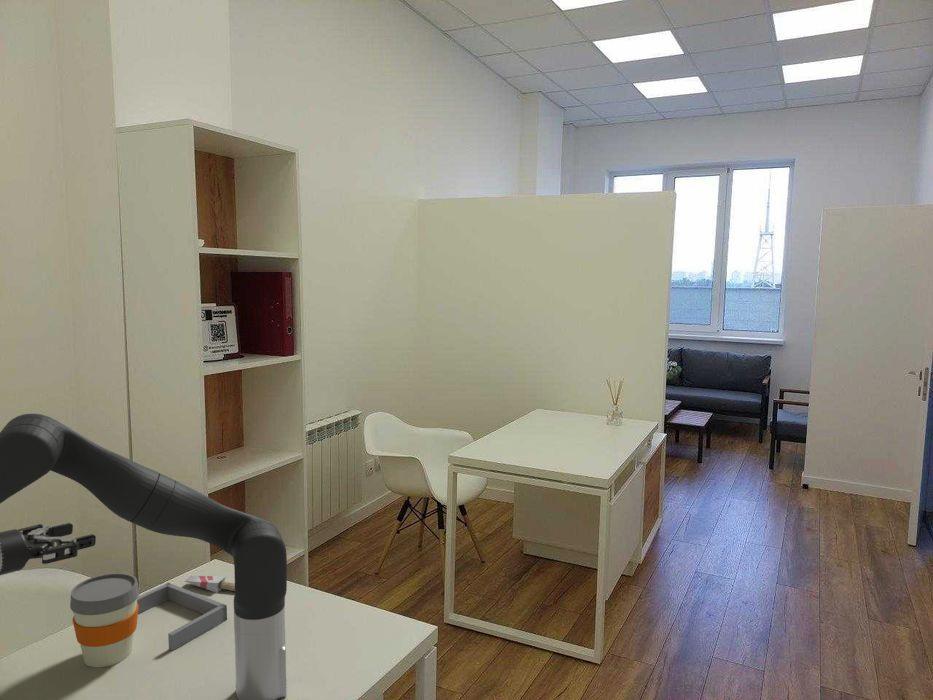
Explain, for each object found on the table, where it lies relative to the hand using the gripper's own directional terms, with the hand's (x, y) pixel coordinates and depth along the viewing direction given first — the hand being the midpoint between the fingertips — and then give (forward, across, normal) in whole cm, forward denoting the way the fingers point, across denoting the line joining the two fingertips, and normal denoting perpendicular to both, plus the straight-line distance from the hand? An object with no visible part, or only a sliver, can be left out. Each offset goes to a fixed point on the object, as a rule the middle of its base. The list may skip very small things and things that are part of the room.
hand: (82, 533), depth 132 cm
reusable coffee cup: (+6, -1, +28) cm, 28 cm away
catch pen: (+21, 0, +26) cm, 33 cm away
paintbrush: (+37, +3, +25) cm, 45 cm away
